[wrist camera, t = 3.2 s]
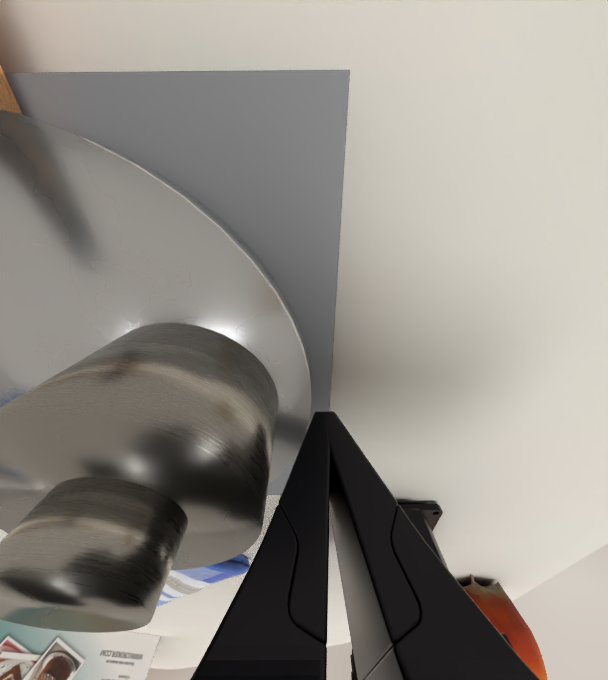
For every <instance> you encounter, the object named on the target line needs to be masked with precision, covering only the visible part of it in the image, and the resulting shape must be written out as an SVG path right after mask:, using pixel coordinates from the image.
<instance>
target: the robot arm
mask: <svg viewBox="0 0 608 680" xmlns="http://www.w3.org/2000/svg"><path fill="white" fill-rule="evenodd" d="M329 508H330V514H331V521H332V527H333V533H334V539H335V545H336V551H337V557H338V563H339V569H340V575H341V581H342V587H343V593H344V599H345V605H346V611H347V617H348V624H349V630H350V636H351V642H352V648H353V649H352V655H351V665H352V672H351V674H352V676H351V677H352V680H540V679H539V678H538V677H537V676H536V675H535V673H534V672H533V671H532V670H531V669H530V668H529V667H528V666H527V665H526V663H525V662H524V661H523V660H522V659H521V658H520V657H519V655H518V654H517V653H516V652H515V651H514V649H513V647H512V645H511V643H510V641H509V639H508V637H507V636H506V634H505V633H499V631H498V630H497V629H496V628H495V626H494V625H493V624H492V623H491V622H490V620H489V619H488V618H487V617H486V615H485V614H484V613H483V612H482V611H481V609H480V608H479V607H478V606H477V605H476V603H475V602H474V601H473V600H472V598H471V597H470V596H469V595H468V594H467V592H466V591H465V590H464V589H463V587H462V586H461V585H460V584H459V583H458V581H457V580H456V579H455V578H454V576H453V575H452V574H451V573H450V572H449V570H448V568H447V565H446V563H445V561H444V558H443V556H442V554H441V551H440V549H439V547H438V544H437V542H436V540H435V537H434V535H433V533H432V531H433V529H434V527H435V526H436V524H437V522H438V520H439V518H440V517H441V515H442V513H443V512H442V510H441V508H440V506H439V505H438V504H398V503H397V501H396V499H395V498H394V497H393V495H392V494H391V492H390V491H389V489H388V488H387V487H386V485H385V484H384V482H383V481H382V479H381V478H380V477H379V475H378V474H377V472H376V471H375V469H374V468H373V467H372V465H371V464H370V462H369V461H368V459H367V458H366V457H365V455H364V454H363V452H362V451H361V449H360V448H359V446H358V445H357V444H356V442H355V441H354V439H353V438H352V436H351V435H350V434H349V432H348V431H347V429H346V428H345V426H344V425H343V424H342V422H341V421H340V419H339V418H338V416H337V415H336V414H335V412H333V411H325V412H324V411H316V412H314V414H313V417H312V419H311V422H310V424H309V427H308V430H307V432H306V435H305V437H304V440H303V442H302V445H301V447H300V450H299V452H298V455H297V457H296V460H295V462H294V465H293V467H292V470H291V473H290V475H289V478H288V480H287V483H286V485H285V488H284V490H283V493H282V495H281V498H280V500H279V505H278V506H277V507H276V510H275V512H274V515H273V518H272V520H271V522H270V525H269V527H268V529H267V532H266V534H265V536H264V539H263V541H262V543H261V545H260V547H259V550H258V552H257V554H256V556H255V558H254V560H253V562H252V564H251V566H250V568H249V570H248V572H247V574H246V576H245V578H244V580H243V582H242V584H241V586H240V587H239V589H238V591H237V593H236V595H235V597H234V599H233V601H232V603H231V605H230V607H229V609H228V611H227V612H226V614H225V616H224V618H223V620H222V622H221V624H220V626H219V628H218V630H217V632H216V634H215V636H214V638H213V639H212V641H211V643H210V645H209V647H208V649H207V651H206V653H205V654H204V656H203V658H202V660H201V662H200V664H199V665H198V667H197V669H196V671H195V672H194V674H193V676H192V678H191V679H190V680H326V662H327V660H326V659H327V657H326V656H327V648H326V643H327V609H328V556H329Z"/></svg>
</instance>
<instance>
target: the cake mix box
mask: <svg viewBox="0 0 608 680" xmlns="http://www.w3.org/2000/svg"><path fill="white" fill-rule="evenodd" d="M159 639H160V636H158V635H151V634H144V633H136V632H129V631H120V632H103V633H89V632H71V631H60V630H51V629H44V628H37V627H32V626H26V625H21V624H16V623H12V622H8V621H4V620H0V680H146V677H147V674H148V671H149V668H150V665H151V662H152V659H153V657H154V654H155V651H156V648H157V645H158V642H159Z"/></svg>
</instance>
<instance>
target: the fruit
mask: <svg viewBox="0 0 608 680" xmlns="http://www.w3.org/2000/svg"><path fill="white" fill-rule="evenodd" d="M470 576H471V584H470V585H468V586H462V587H463V589H464V590H465V591H466V592H467V594H468V595H469V596H470V597H471V598H472V600H473V601H474V602H475V603H476V605H477V606H478V607H479V608H480V609H481V611H482V612H483V613H484V614H485V615H486V617H487V618H488V619H489V620H490V622H491V623H492V624H493V625H494V626H495V628H496V629H497V630H498V631H499V633H505V634H506V636H507V637H508V639H509V641H510V643H511V645H512V647H513V649H514V651H515V652H516V653H517V654H518V655H519V657H520V658H521V659H522V660H523V661H524V662H525V663H526V665H527V666H528V667H529V668H530V669H531V670H532V671H533V672H534V673H535V675H536V676H537V677H538V678H539V679H540V680H547V674H546V670H545V666H544V662H543V659H542V655H541V653H540V650H539V647H538V645H537V642H536V640H535V638H534V636H533V634H532V632H531V630H530V628H529V627H528V625H527V624H526V623H525V621H524V620H523V618H522V617H521V615H520V614H519V612H518V611H517V609H516V608H515V606H514V605H513V603H512V601H511V600H510V599H509V597H508V596H507V594H506V593H505V592H504V590H503V589H502V587H501V586H500V584H499V583H497V584H495V585H490V586H480V585H479V584H478V583H476V582H475V581H474V578H473V575H471V574H470Z"/></svg>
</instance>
